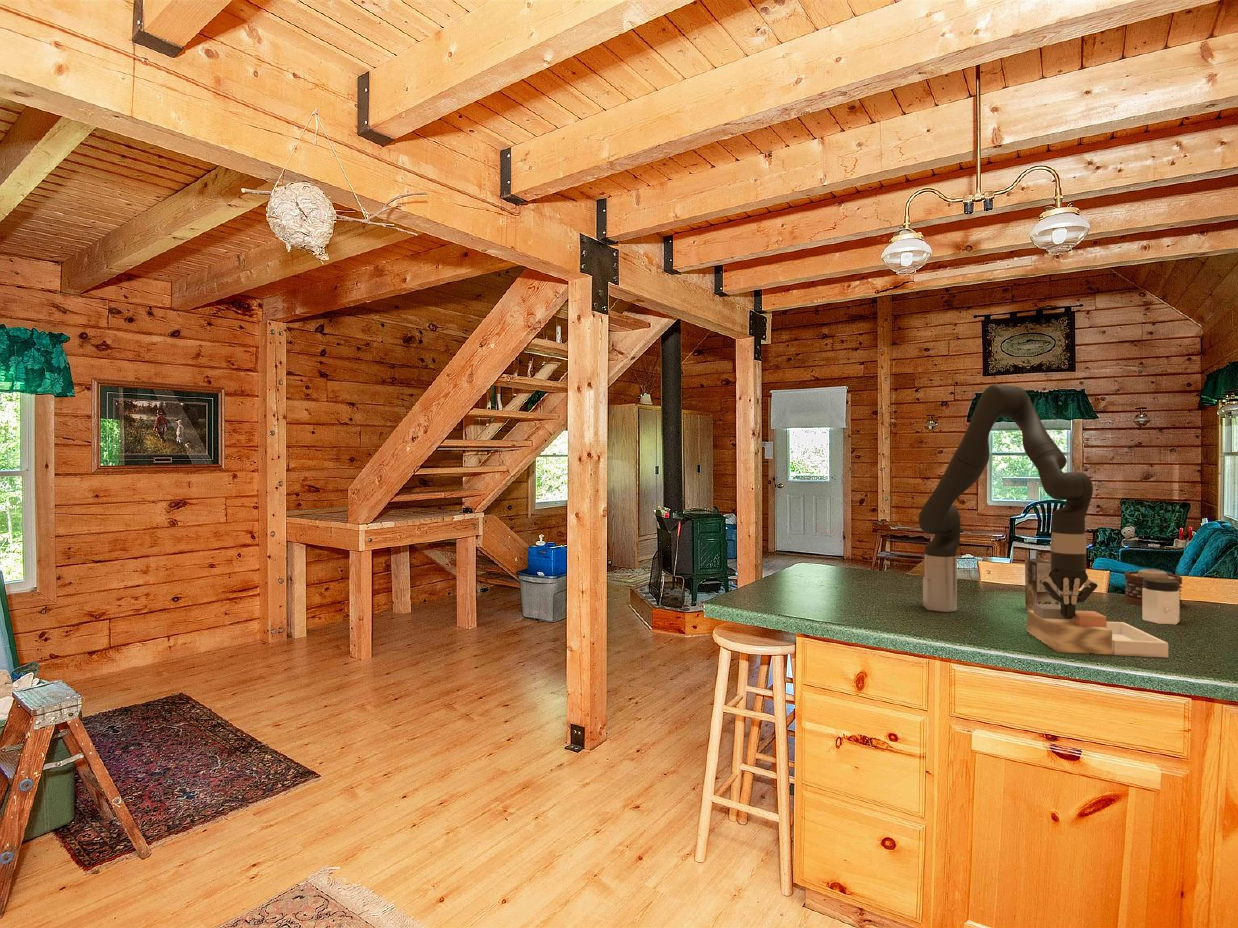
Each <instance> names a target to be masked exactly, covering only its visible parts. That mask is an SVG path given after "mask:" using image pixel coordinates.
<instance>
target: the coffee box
mask: <svg viewBox="0 0 1238 928" xmlns="http://www.w3.org/2000/svg"><path fill="white" fill-rule="evenodd" d="M1050 571H1051V559H1047V558H1025V559H1024V582H1025V583H1024V584H1025V585H1024V586H1025V587H1024V588H1025V592H1024V593H1025V601H1024V602H1025V606H1024V607H1025V608H1024V609H1025V610H1026V611H1027V610H1034V604H1058V605H1060V602H1058V601H1056V600H1054V599H1053V598H1052V597H1051V596H1050V595H1049V594H1048V593H1047V591H1046V590H1045V589H1044V588H1043V587H1042V585H1041V584H1040V583H1039V582H1040V580H1045V579H1046V578H1048V577H1049V573H1050ZM1052 584H1053V586H1052V588H1053V589H1054V590H1055V592H1056V593H1057V594H1058V595H1059V592H1058V588H1057V587H1056V586H1055V584H1054V583H1053V582H1052Z"/></svg>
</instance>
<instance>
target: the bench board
mask: <svg viewBox="0 0 1238 928" xmlns="http://www.w3.org/2000/svg"><path fill="white" fill-rule="evenodd" d="M1026 611H1027V613H1026V614H1027V615H1026V616H1027V617H1026V625H1027V626H1026V627H1027V629H1026V631H1027V633H1028V632H1029V633H1028V634H1030V635H1031V636H1033V637H1034V636H1035V637H1034V638H1036V639H1037V640H1038V641H1040V640H1041V641H1040V642H1042V643H1044V644H1045V645H1046V644H1047V645H1046V646H1048V647H1049V648H1051V649H1052V650H1054V651H1055V652H1057V653H1073V654H1090V653H1094V654H1096V655H1113V654H1112V630H1111V629H1109V628H1107V627H1096V626H1079V625H1077V624H1075V623H1073V622H1071V621H1069V620H1068V619H1050V618H1042V617H1040V616H1038V615H1036V614H1035V613H1034V610H1027V609H1026ZM1094 654H1093V655H1094Z"/></svg>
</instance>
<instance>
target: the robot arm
mask: <svg viewBox="0 0 1238 928" xmlns="http://www.w3.org/2000/svg"><path fill="white" fill-rule="evenodd" d="M998 418H1005V419H1010V420H1012V422H1014V423H1015V424H1016V425H1017V427H1018V428H1019V430H1020V431H1021V435H1022V447H1023V449H1024V452H1025V454H1026V455H1027V457H1028V458H1029V459H1030V461H1031V462H1032V464H1033V466H1034V467H1035V468H1036V469H1037V472H1038V477H1039V479H1040V483H1041V485H1042V488H1043V490H1044V492H1045V494H1047V495H1048V496H1049V497H1050V498H1051V499H1054V500H1056V501H1065V503H1064V505H1063V507H1061V508H1058V509H1056V510H1054V511H1053V512H1052V515H1051V536H1050V537H1051V538H1050V545H1049V546H1050V560H1051V571H1050V573H1049V577H1048V578H1046V579H1045V580H1040V582H1039V583H1040V584H1041V585H1042V587H1043V588H1044V589H1045V590H1046V591H1047V593H1048V594H1049V595H1050V596H1051V597H1052V598H1053V599H1054V600H1056V601H1058V602H1059V604H1060V606H1061V615H1062V616H1063V617H1064V618H1065V619H1073V617H1075V611H1076V605H1077V604H1079V603H1084V602H1085V601H1086V600H1087V599H1088V598H1089V597H1090V596H1091V594H1092V593H1094V592H1095V590H1096V589H1097V588H1098V587H1099V586H1098V584H1097V583H1095V582H1094V581H1092V580H1091V579H1089V576H1088V574H1087V539H1086V516H1087V513H1088V510H1089V508H1090V507H1089V506H1090V504H1091V500H1092V497H1093V493H1094V486H1093V482H1092V479H1091V478H1090V476H1088V475H1087V474H1086V473H1084V472H1080V471H1071V472H1067V471H1066V472H1065V471H1063V470H1062V469H1065V467H1066V465H1067V457H1066V456H1065V454H1064V453H1063V452H1062V450H1061V449H1060V448H1059V446H1058V445H1057V444H1056V442H1055V441H1054V439H1053V438H1052V437H1051V436H1050V434H1049V433H1048V431H1047V430H1046V428H1045V426H1044V424H1043V422H1042V421H1041V419H1040V416H1039V414H1038V412H1037V410H1036V408H1035V406H1034V404H1033V402H1032V400H1031V398H1030V396H1029V395H1028V393H1027V391H1026V390H1025V389H1023V388H1022V387H1020V386H1018V385H1010V384H1009V385H1008V384H999V383H995V384H991V385H988V386H987V388H985V389H984V391H983V392H982V394H981V396H980V398H979V400H978V402H977V405H976V408H975V409H974V412H973V415H972V417H971V419H970V422H969V424H968V427H967V429H966V431H965V432H964V434H963V437H962V439H961V441H960V442H959V444H958V446H957V448H956V450H955V452H954V454H953V455H952V457H951V458H950V461H949V463H948V465H947V467H946V469H945V471H944V473H943V475H942V476H941V478H940V480H939V481H938V484H937V485H936V487H935V489H934V491H933V492H932V494H931V495H929V498H928V499H927V501H926V502H925V504H924V505H923V506H922V508H921V510H920V512H919V515H918V525H919V528H920V529H921V530H922V531H923V533H926V534H930V535H931V534H932V535H933V538H932V539H931V541H929V542H928V543H926V544H925V546H924V576H923V577H922V606H923V607H924V608H925V609H926V610H928V611H935V612H945V613H946V612H949V613H950V612H956V611H957V610H958V595H957V594H958V586H957V585H958V581H957V580H958V576H957V575H958V573H957V572H958V568H957V567H958V566H957V565H958V562H957V561H958V556H957V555H958V554H957V553H958V549H959V547H960V542H961V540H960V539H961V525H962V524H961V515H960V512H959V511H958V509H957V507H955V506H954V505H953V504H954V503H955V501H956V500H957V499H958V498H959V497H960V496H961V495H963V494H964V492H965V493H966V491H968V490H969V489H970V488H971V487H972V486H973V485H974V484H975V483H976V482H977V481H978V480H979V478H980V477H981V476H982V474H983V472H984V471H985V468H986V466H987V465H988V463H989V461H990V444H989V443H990V442H989V441H990V440H989V439H990V437H989V436H990V433H991V430H992V428H993V426H994V425H995V423H996V421H997V419H998ZM1052 582H1053V583H1054V584H1055V586H1056V587H1057V588H1058V592H1059V595H1058V594H1057V593H1056V592H1055V590H1054V589H1053V588H1052V586H1053V584H1052ZM1082 587H1083V588H1082ZM1081 588H1082V589H1081ZM1080 589H1081V590H1080ZM1079 590H1080V591H1079Z"/></svg>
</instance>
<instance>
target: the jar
mask: <svg viewBox="0 0 1238 928" xmlns="http://www.w3.org/2000/svg"><path fill="white" fill-rule="evenodd" d="M1143 587H1144V588H1142V608H1141V611H1142V613H1141V615H1142V616H1141V618H1142V619H1141V620H1143V621H1145V622H1150V623H1154V624H1158V625H1176V626H1177V624H1178V623H1180V608H1179V596H1180V595H1179V593H1180V592H1179V582H1178V581H1177V580H1172V579H1166V578H1144V579H1143Z"/></svg>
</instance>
